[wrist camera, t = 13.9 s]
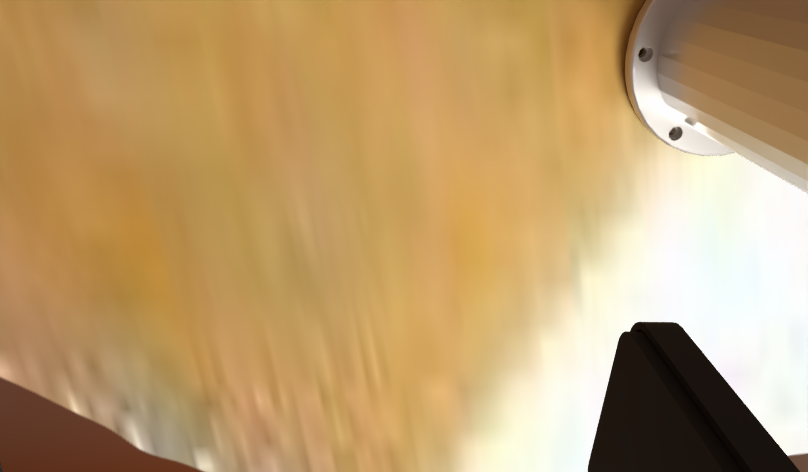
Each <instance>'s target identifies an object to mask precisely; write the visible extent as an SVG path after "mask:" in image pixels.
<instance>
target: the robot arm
mask: <svg viewBox="0 0 808 472" xmlns="http://www.w3.org/2000/svg"><path fill="white" fill-rule="evenodd" d="M641 49H643V53H642V54H641V55H640V56H638V54H639V51H640V50H641ZM625 80H626V86H627V92H628V97H629V99H630V101H631V104H632V106H633V109H634V111H635V113H636V115H637V116H638V118H639V119H640V121H641V122H642V123H643V125H644V126H645V127H646V128H647V129H648V130H649V131H650V132H651V133H652V134H653V135H654V136H656V137H657V138H658V139H659V140H661V141H662V142H664V143H665V144H667V145H669V146H671V147H673V148H675V149H678V150H680V151H683V152H685V153H690V154H695V155H701V156H722V155H727V154H731V153H737V154H739V155H741V156H742V157H744V158H746V159H748V160H749V161H751V162H753V163H755V164H757V165H758V166H760V167H762V168H764V169H765V170H767V171H769V172H771V173H772V174H774V175H776V176H778V177H779V178H781V179H783V180H785V181H787V182H788V183H790V184H792V185H794V186H795V187H797V188H799V189H801V190H802V191H804V192H806V193H808V0H646V1H645V3H644V5H643V6H642V8H641V10H640V12H639V13H638V15H637V18H636V20H635V23H634V26H633V28H632V31H631V33H630V36H629V41H628V46H627V51H626V56H625ZM671 129H672V131H671V132H670V130H671ZM669 132H670V133H669ZM0 472H2V467H1V464H0ZM588 472H800V471H799V470H798V469H797V467H796V466H795V465H794V464H793V463H792V461H791V460H790V459H789V458H788V456H787V455H786V454H785V453H784V452H783V450H782V449H781V448H780V447H779V445H778V444H777V443H776V442H775V441H774V439H773V438H772V437H771V436H770V434H769V433H768V432H767V431H766V430H765V428H764V427H763V426H762V425H761V423H760V422H759V421H758V420H757V419H756V417H755V416H754V415H753V414H752V412H751V411H750V410H749V409H748V408H747V406H746V405H745V404H744V403H743V401H742V400H741V399H740V398H739V397H738V395H737V394H736V393H735V392H734V390H733V389H732V388H731V387H730V386H729V384H728V383H727V382H726V381H725V379H724V378H723V377H722V376H721V375H720V373H719V372H718V371H717V370H716V368H715V367H714V366H713V365H712V364H711V362H710V361H709V360H708V359H707V357H706V356H705V355H704V354H703V353H702V351H701V350H700V349H699V348H698V346H697V345H696V344H695V343H694V342H693V340H692V339H691V338H690V337H689V335H688V334H687V333H686V332H685V331H684V329H683V328H682V327H681V326H680V325H679V324H677V323H673V322H638V323H635V324H634V325H633V327H632V328H631V331H630V332H624V333H622V335H621V336H620V338H619V341H618V345H617V350H616V354H615V358H614V362H613V366H612V370H611V374H610V378H609V382H608V387H607V391H606V395H605V399H604V403H603V407H602V411H601V415H600V419H599V423H598V428H597V432H596V436H595V440H594V444H593V448H592V452H591V456H590V460H589V465H588Z"/></svg>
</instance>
